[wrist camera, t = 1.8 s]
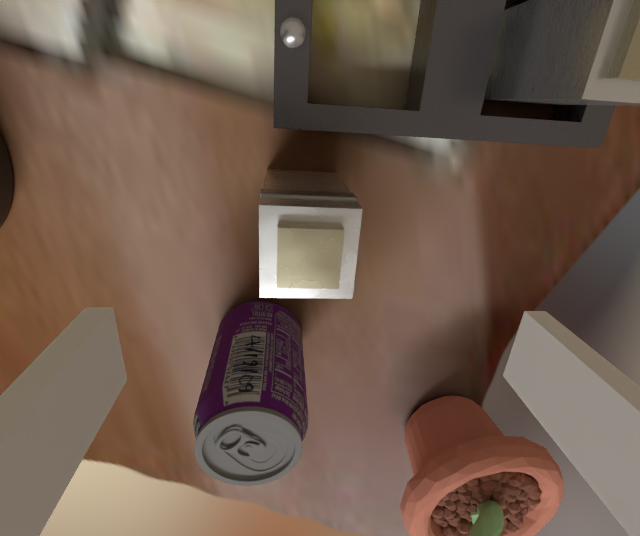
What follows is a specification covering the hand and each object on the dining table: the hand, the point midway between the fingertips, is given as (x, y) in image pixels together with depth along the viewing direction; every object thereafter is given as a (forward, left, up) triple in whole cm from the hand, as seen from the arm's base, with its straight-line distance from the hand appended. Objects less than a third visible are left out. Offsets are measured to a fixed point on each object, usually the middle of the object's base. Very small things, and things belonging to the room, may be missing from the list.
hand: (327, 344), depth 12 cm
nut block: (0, 0, -17) cm, 17 cm away
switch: (+9, +11, -17) cm, 22 cm away
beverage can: (-3, -11, -18) cm, 21 cm away
